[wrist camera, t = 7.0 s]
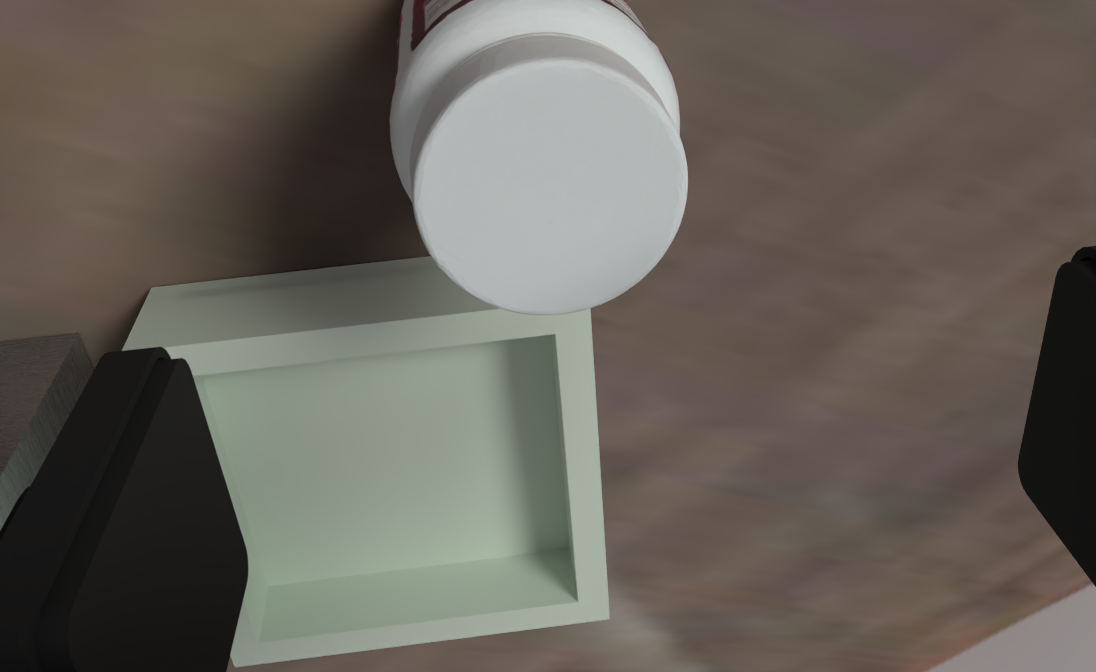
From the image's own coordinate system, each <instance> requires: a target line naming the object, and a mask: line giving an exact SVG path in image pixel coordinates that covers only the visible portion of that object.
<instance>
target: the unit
mask: <svg viewBox="0 0 1096 672" xmlns="http://www.w3.org/2000/svg"><path fill="white" fill-rule="evenodd" d="M92 373H93V369H92V366H91V364H90V361H89V358H88V356H87V353H86V351H85V348H84V345H83V343H82V340H81V338H80V335H79V333H77V334H68V335H60V336H51V337H42V338H33V339H25V340H16V341H7V342H0V530H1V528H2V527H3V525H4V523H5V521H6V519H7V518H8V516H9V514H10V512H11V510H12V509H13V507H14V505H15V503H16V501H17V500H18V498H19V497H20V495H21V494H22V493H23V492H24V490H25V489H26V488H27V487H29V486H31V484H32V482H33V480H34V478H35V477H36V475H37V473H38V471H39V469H40V468H41V466H42V464H43V462H44V460H45V458H46V457H47V455H48V453H49V451H50V449H51V448H52V446H53V444H54V442H55V440H56V438H57V437H58V435H59V433H60V431H61V429H62V428H63V426H64V424H65V422H66V420H67V419H68V417H69V415H70V413H71V411H72V409H73V408H74V406H75V404H76V402H77V400H78V399H79V397H80V395H81V393H82V391H83V390H84V388H85V386H86V384H87V382H88V380H89V379H90V377H91V375H92Z"/></svg>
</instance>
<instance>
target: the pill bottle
mask: <svg viewBox="0 0 1096 672" xmlns="http://www.w3.org/2000/svg"><path fill="white" fill-rule="evenodd" d="M389 124H390V138H391V146H392V153H393V157H394V162H395V166H396V169H397V172H398V175H399V177H400V180H401V182H402V185H403V187H404V189H405V191H406V193H407V194H408V196H409V198H410V200H411V201H412V203H413V211H414V216H415V220H416V223H417V227H418V230H419V233H420V235H421V238H422V241H423V243H424V245H425V246H426V248H427V250H428V252H429V254H430V256H431V257H432V259H433V260H434V262H435V263H436V264H437V266H438V267H439V268H440V269H441V270H442V271H443V272H444V273H445V274H446V276H447V277H448V278H449V279H450V280H452V281H453V282H454V283H455V284H456V285H458V286H459V287H460V288H462V289H463V290H464V291H466V292H467V293H469V294H470V295H472V296H474V297H475V298H477V299H479V300H481V301H483V302H485V303H487V304H489V305H492V306H494V307H497V308H500V309H503V310H506V311H510V312H515V313H520V314H528V315H561V314H568V313H574V312H578V311H583V310H586V309H590V308H592V307H595V306H597V305H600V304H603V303H605V302H607V301H609V300H611V299H613V298H615V297H617V296H619V295H620V294H622V293H624V292H625V291H627V290H628V289H630V288H631V287H632V286H634V285H635V284H637V283H638V282H639V281H640V280H641V279H642V278H644V277H645V276H646V275H647V274H648V273H649V272H650V271H651V270H652V269H653V268H654V267H655V265H656V264H657V263H658V262H659V260H660V259H661V258H662V257H663V255H664V254H665V252H666V251H667V249H668V248H669V246H670V244H671V242H672V241H673V239H674V237H675V235H676V233H677V230H678V228H679V226H680V223H681V220H682V217H683V213H684V209H685V205H686V199H687V189H688V171H687V162H686V157H685V152H684V148H683V145H682V142H681V139H680V136H679V134H680V114H679V104H678V96H677V93H676V89H675V84H674V80H673V76H672V74H671V71H670V69H669V67H668V65H667V62H666V60H665V58H664V56H663V55H662V53H661V52H660V51H659V49H658V48H657V46H656V45H655V43H654V42H653V41H652V39H651V38H650V37H649V35H648V33H647V32H646V31H645V29H644V28H643V26H642V25H641V23H640V22H639V20H638V19H637V17H636V16H635V14H634V13H633V12H632V10H631V9H630V7H629V5H628V4H627V2H626V1H625V0H404V3H403V7H402V11H401V17H400V25H399V33H398V39H397V57H396V65H395V75H394V85H393V94H392V101H391V109H390V116H389Z"/></svg>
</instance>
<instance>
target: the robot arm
mask: <svg viewBox="0 0 1096 672" xmlns="http://www.w3.org/2000/svg"><path fill="white" fill-rule="evenodd" d="M1018 471H1019V477H1020V481H1021V484H1022V486H1023V489H1024V490H1025V492H1026V494H1027V495H1028V496H1029V498H1030V499H1031V500H1032V502H1033V503H1034V505H1035V506H1036V507H1037V509H1038V510H1039V511H1040V513H1041V514H1042V515H1043V517H1044V518H1045V519H1046V521H1047V522H1048V523H1049V525H1050V526H1051V527H1052V529H1053V530H1054V531H1055V533H1056V534H1057V535H1058V537H1059V538H1060V539H1061V541H1062V542H1063V544H1064V545H1065V546H1066V548H1067V549H1068V550H1069V552H1070V553H1071V554H1072V556H1073V557H1074V558H1075V560H1076V561H1077V562H1078V564H1079V565H1080V566H1081V568H1082V569H1083V570H1084V572H1085V573H1086V574H1087V576H1088V577H1089V578H1090V580H1091V581H1092V582H1093V584H1094V585H1095V587H1096V246H1091V247H1083V248H1081V249H1080V250H1078V251H1077V252H1076V253H1075V255H1074V256H1073V258H1072V260H1071V262H1066V263H1064V264H1063V265H1061V267H1060V268H1059V270H1058V272H1057V275H1056V278H1055V283H1054V288H1053V293H1052V298H1051V303H1050V308H1049V313H1048V317H1047V322H1046V327H1045V332H1044V337H1043V342H1042V347H1041V351H1040V356H1039V361H1038V366H1037V371H1036V376H1035V381H1034V385H1033V390H1032V395H1031V400H1030V405H1029V410H1028V415H1027V419H1026V424H1025V429H1024V434H1023V439H1022V444H1021V449H1020V454H1019V459H1018ZM248 569H249V568H248V555H247V550H246V545H245V542H244V539H243V536H242V533H241V529H240V526H239V523H238V520H237V516H236V513H235V510H234V507H233V504H232V500H231V497H230V494H229V491H228V487H227V484H226V481H225V478H224V475H223V471H222V468H221V465H220V462H219V459H218V455H217V452H216V449H215V446H214V442H213V439H212V436H211V433H210V430H209V426H208V423H207V420H206V417H205V414H204V410H203V407H202V404H201V401H200V397H199V394H198V391H197V388H196V385H195V381H194V378H193V375H192V372H191V369H190V367H189V364H188V363H187V361H186V360H185V359H183V358H177V359H171V357H170V355H169V354H168V352H167V351H166V349H164V348H163V347H153V348H144V349H134V350H125V351H116V352H108V353H105V354H104V355H103V356H102V357H101V359H100V360H99V362H98V364H97V366H96V368H95V370H94V371H93V373H92V375H91V377H90V379H89V380H88V382H87V384H86V386H85V388H84V390H83V391H82V393H81V395H80V397H79V399H78V400H77V402H76V404H75V406H74V408H73V409H72V411H71V413H70V415H69V417H68V419H67V420H66V422H65V424H64V426H63V428H62V429H61V431H60V433H59V435H58V437H57V438H56V440H55V442H54V444H53V446H52V448H51V449H50V451H49V453H48V455H47V457H46V458H45V460H44V462H43V464H42V466H41V468H40V469H39V471H38V473H37V475H36V477H35V478H34V480H33V482H32V484H31V486H29V487H27V488H26V489H25V490H24V492H23V493H22V494H21V495H20V497H19V498H18V500H17V501H16V503H15V505H14V507H13V509H12V510H11V512H10V514H9V516H8V518H7V519H6V521H5V523H4V525H3V527H2V528H1V530H0V672H226V670H227V666H228V662H229V657H230V653H231V649H232V645H233V641H234V636H235V632H236V628H237V624H238V619H239V615H240V611H241V607H242V603H243V598H244V594H245V590H246V586H247V581H248Z"/></svg>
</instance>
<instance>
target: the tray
mask: <svg viewBox="0 0 1096 672" xmlns="http://www.w3.org/2000/svg"><path fill="white" fill-rule="evenodd" d="M153 347H163V348H164V349H166V351H167V352H168V354H169V355H170V357H171V359H177V358H183V359H185V360H186V361H187V363H188V364H189V367H190V369H191V372H192V375H193V378H194V381H195V385H196V388H197V391H198V394H199V397H200V401H201V404H202V407H203V410H204V414H205V417H206V420H207V423H208V426H209V430H210V433H211V436H212V439H213V442H214V446H215V449H216V452H217V455H218V459H219V462H220V465H221V468H222V471H223V475H224V478H225V481H226V484H227V487H228V491H229V494H230V497H231V500H232V504H233V507H234V510H235V513H236V516H237V520H238V523H239V526H240V529H241V533H242V536H243V539H244V542H245V545H246V550H247V555H248V568H249V569H248V581H247V586H246V590H245V594H244V598H243V603H242V607H241V611H240V615H239V619H238V624H237V628H236V632H235V636H234V641H233V645H232V649H231V653H230V656H231V658H232V661H233V664H234V667H241V666H249V665H257V664H264V663H272V662H280V661H288V660H296V659H303V658H311V657H319V656H327V655H335V654H342V653H350V652H358V651H366V650H373V649H381V648H389V647H397V646H405V645H412V644H420V643H428V642H436V641H444V640H451V639H459V638H467V637H475V636H482V635H490V634H498V633H506V632H514V631H521V630H529V629H537V628H545V627H553V626H560V625H568V624H576V623H584V622H591V621H599V620H607V619H610V617H609V601H608V585H607V569H606V552H605V536H604V520H603V504H602V488H601V472H600V456H599V440H598V424H597V408H596V392H595V376H594V360H593V344H592V328H591V312H590V309H586V310H583V311H578V312H574V313H568V314H561V315H528V314H520V313H515V312H510V311H506V310H503V309H500V308H497V307H494V306H492V305H489V304H487V303H485V302H483V301H481V300H479V299H477V298H475V297H474V296H472V295H470V294H469V293H467V292H466V291H464V290H463V289H462V288H460V287H459V286H458V285H456V284H455V283H454V282H453V281H452V280H450V279H449V278H448V277H447V276H446V274H445V273H444V272H443V271H442V270H441V269H440V268H439V267H438V266H437V264H436V263H435V262H434V260H433V259H432V257H431V256H427V257H418V258H409V259H400V260H391V261H382V262H374V263H365V264H356V265H347V266H338V267H329V268H320V269H312V270H303V271H294V272H285V273H276V274H267V275H258V276H249V277H241V278H232V279H223V280H214V281H205V282H196V283H187V284H179V285H170V286H161V287H152V288H151V289H150V292H149V294H148V296H147V298H146V300H145V302H144V304H143V306H142V309H141V311H140V313H139V315H138V317H137V319H136V321H135V323H134V326H133V328H132V330H131V332H130V334H129V336H128V338H127V341H126V343H125V345H124V347H123V349H122V351H125V350H134V349H144V348H153Z"/></svg>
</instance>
